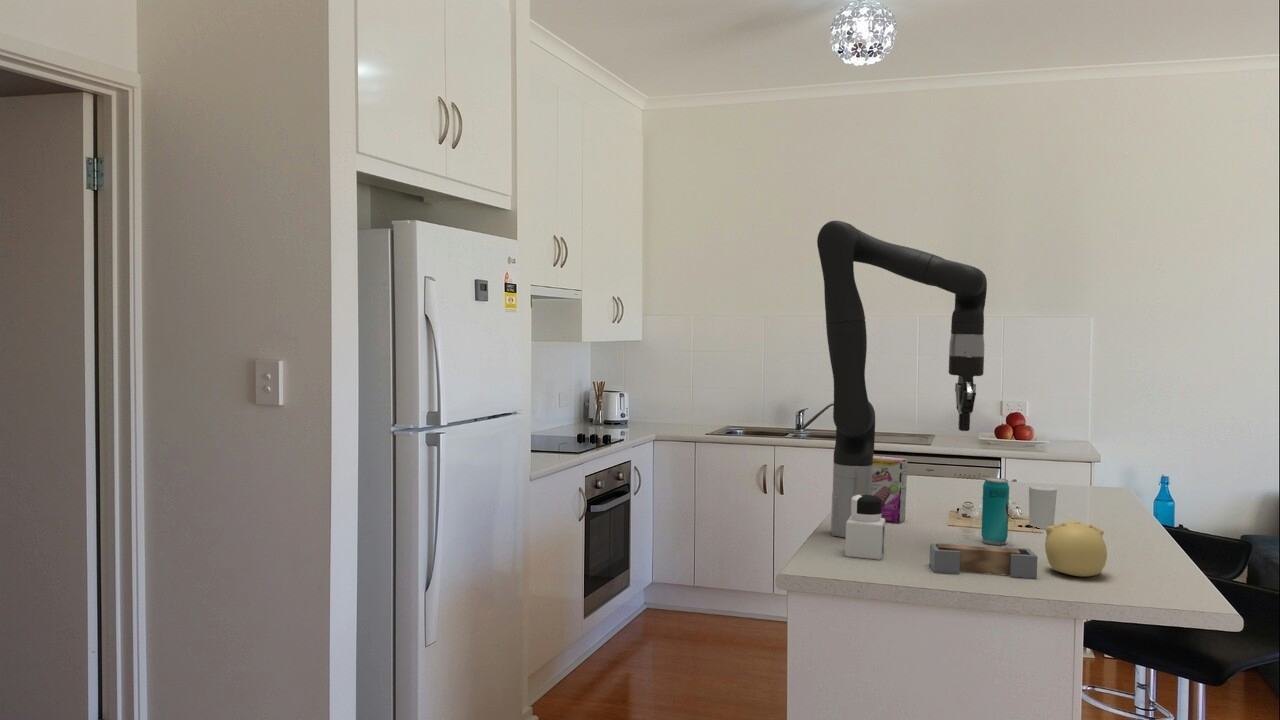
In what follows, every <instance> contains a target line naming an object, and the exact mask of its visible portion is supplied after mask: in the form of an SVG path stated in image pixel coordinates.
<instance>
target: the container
mask: <svg viewBox="0 0 1280 720" xmlns="http://www.w3.org/2000/svg"><path fill="white" fill-rule="evenodd" d="M881 513H882V500H881V499H880V498H879V497H877V496H873V495H856V496H854V497H852V498H851V515H852V516H850V517H849V519H848V520H847V522H846V538H845V542H844V543H845V551H844V556H845V557H848V558H849V557H850V558H859V559H871V560H877V561H878V560H879V561H880V560H882V558H883V556H884V554H885V543H886V541H885V539H886V522H885V519H884V518H880V517H881Z"/></svg>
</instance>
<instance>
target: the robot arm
mask: <svg viewBox="0 0 1280 720" xmlns="http://www.w3.org/2000/svg"><path fill="white" fill-rule="evenodd" d="M816 243H817V250H818V257H819V260H820V266H821V272H822V276H823V285H824V286H823V288H824V310H825V323H826V324H825V326H826V328H825V329H826V337H827V345H828V353H829V359H830V360H829V361H830V366H831V371H832V377H833V378H832V379H833V409H832V410H833V413H832V415H833V416H832V419H833V423H834V425H835V427H836V428H835V429H836V430H835V445H834V450H833V466H832V470H833V471H832V492H831V515H830V517H831V520H830V521H831V522H830V523H831V525H830V534H831V536H832V537H833V536H834V537H841V538H845V539H846V522H847V520H848V519H849V517H850V516H852V515H851V498H852V497H854V496H856V495H872V470H873V465H872V464H873V456H874V451H875V438H876V437H875V436H876V412H875V409H874V406H873V405H872V403H871V402H870V401H869V398H868V393H867V392H868V391H867V385H866V379H865V375H866V373H865V372H866V363H867V362H866V361H867V348H868V346H867V345H868V344H867V343H868V340H867V339H868V338H867V335H868V334H867V324H866V323H867V322H866V315H865V311H864V306H863V302H862V299H861V296H860V294H859V290H858V288H857V284H856V280H855V269H854V267H855V265H854V262H855V263H861V264H866V265H869V266H870V265H871V266H873V267H877V268H880V269H883V270H886V271H888V272H890V273H893V274H895V275H897V276H899V277H902V278H906V279H908V280H911V281H914V282H916V283H920V284H924V285H926V286H931V287H936V288H938V289H940V290H944V291H947V292H948V293H949V292H950V293H952V294H954V295H955V296H954V310H953V311H952V315H951V325H950V339H949V350H948V374H949V375H951V376H958V378H957V382H955V384H954V385H955V386H954V391H955V402H956V403H955V404H956V410H957V413H958V430H959V431H961V432H969V431H970V428H971V426H970V425H971V415H972V413H973V411H974V405H975V401H976V396H977V391H976V390H977V385H976V384H975V383H974V377H981V376H983V375H984V371H985V370H984V367H985V366H984V365H985V364H984V363H985V338H984V331H985V328H984V327H985V305H986V299H987V290H988V287H987V286H988V281H987V277H986V274H985V273H984V271H982V270H981V269H979V268H977V267H975V266H972V265H969V264H966V263H961V262H957V261H953V260H949V259H945V258H943V257H942V256H939V255H936V254H933V253H929V252H926V251H923V250H920V249H917V248H912V247H908V246H905V245H901V244H900V245H899V244H895V243H891V242H887V241H885V240H882V239H880V238H877V237H875V236H872V235H869V234H868V233H865V232H864V231H862V230H860V229H858V228H856V227H855V226H853V225H852V224H850V223H848V222H845V221H842V220H830V221H828V222H826V223H825V224H824V225H822V227H821V228H820V230H819V232H818V235H817V238H816Z"/></svg>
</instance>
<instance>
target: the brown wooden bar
mask: <svg viewBox="0 0 1280 720" xmlns="http://www.w3.org/2000/svg"><path fill="white" fill-rule="evenodd" d="M937 547H938V549H939V550H951V551H960V568H959V573H970V574H983V573H991V574H990V575H996V574H1005V575H1004V576H1009V575H1010V554H1020V552H1019V550H1018V549H1007V548H1008V547H1007V548H1004V547H991V546H989V547H988V546H978V545H962V544H954V545H951V544H950V543H949V544H948V543H937Z"/></svg>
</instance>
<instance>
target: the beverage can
mask: <svg viewBox="0 0 1280 720" xmlns="http://www.w3.org/2000/svg"><path fill="white" fill-rule="evenodd" d="M1009 501H1010V486H1009V479H1006V478H999V477H998V478H997V477H986V478H984V483H983V485H982V504H981V505H982V506H981V507H982V508H981V510H982V511H981V537H982V540H983V543H984V544H988V545H993V546H994V545H995V546H1002V545H1005V543H1006V542H1007V539H1008V534H1009V533H1008V531H1009V509H1010V508H1009V505H1010V502H1009Z"/></svg>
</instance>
